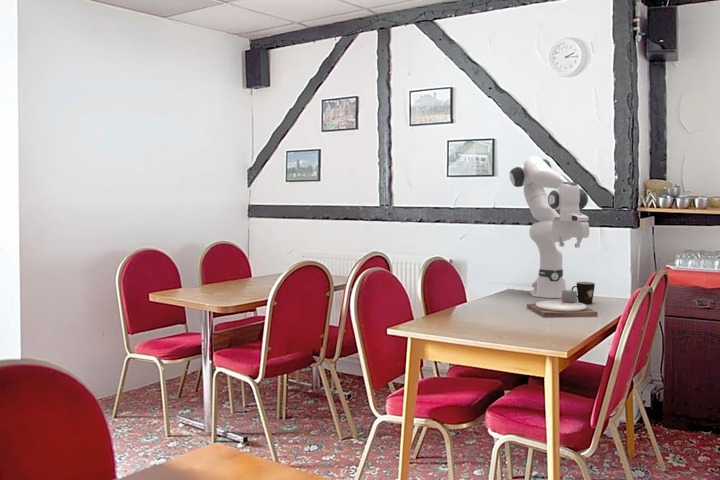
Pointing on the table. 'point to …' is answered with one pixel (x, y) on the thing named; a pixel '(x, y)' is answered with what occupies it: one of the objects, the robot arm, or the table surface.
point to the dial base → (562, 312)
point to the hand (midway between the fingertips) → (569, 246)
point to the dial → (563, 303)
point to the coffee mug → (585, 292)
